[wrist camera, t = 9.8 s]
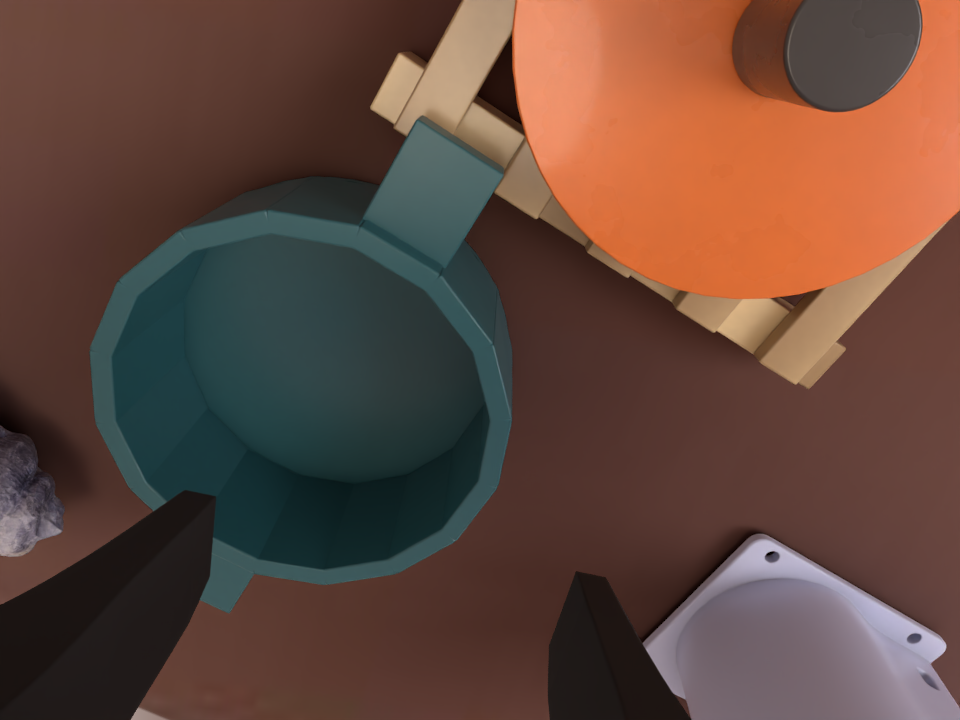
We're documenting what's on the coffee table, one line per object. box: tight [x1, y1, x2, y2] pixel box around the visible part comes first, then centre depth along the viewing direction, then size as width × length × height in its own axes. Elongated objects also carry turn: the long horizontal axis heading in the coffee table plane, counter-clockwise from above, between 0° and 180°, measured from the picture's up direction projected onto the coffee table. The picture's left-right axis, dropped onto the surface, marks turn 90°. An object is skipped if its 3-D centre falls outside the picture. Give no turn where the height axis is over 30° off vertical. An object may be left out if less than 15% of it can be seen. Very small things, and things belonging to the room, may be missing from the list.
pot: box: [89, 115, 512, 613], centre depth 21 cm, size 11×17×5 cm
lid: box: [512, 0, 960, 299], centre depth 15 cm, size 12×12×4 cm
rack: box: [370, 0, 950, 389], centre depth 18 cm, size 15×13×3 cm
